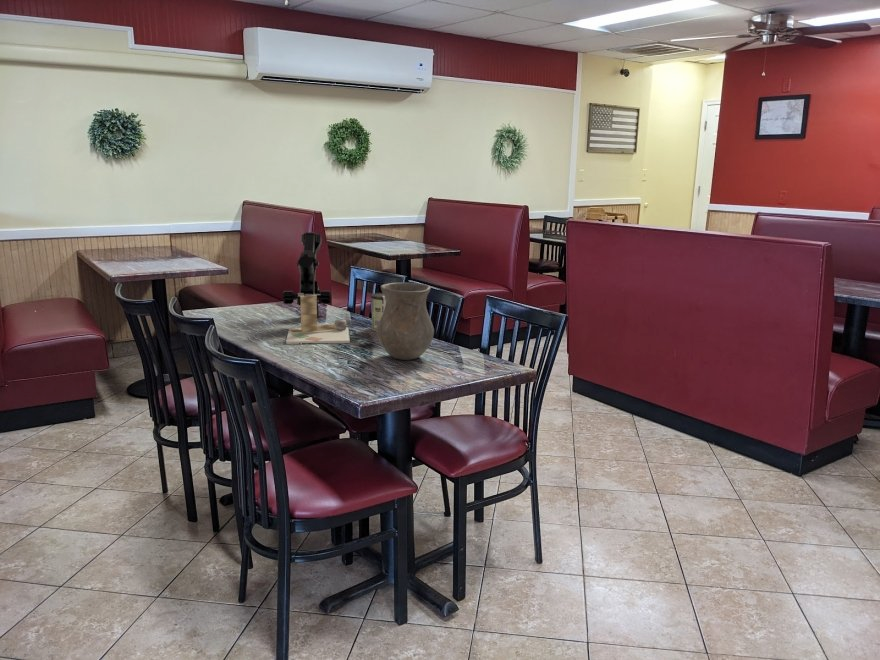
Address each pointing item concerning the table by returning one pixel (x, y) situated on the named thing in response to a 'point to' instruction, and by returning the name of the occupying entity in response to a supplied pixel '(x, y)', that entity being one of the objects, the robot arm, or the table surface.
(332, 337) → the dial board
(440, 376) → the table surface
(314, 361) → the table surface
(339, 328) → the lever
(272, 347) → the table surface
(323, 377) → the table surface
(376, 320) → the coffee can
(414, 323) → the vase
